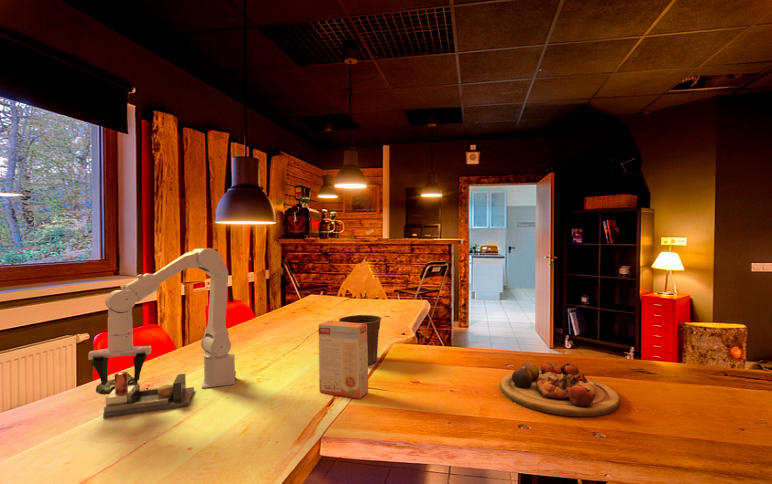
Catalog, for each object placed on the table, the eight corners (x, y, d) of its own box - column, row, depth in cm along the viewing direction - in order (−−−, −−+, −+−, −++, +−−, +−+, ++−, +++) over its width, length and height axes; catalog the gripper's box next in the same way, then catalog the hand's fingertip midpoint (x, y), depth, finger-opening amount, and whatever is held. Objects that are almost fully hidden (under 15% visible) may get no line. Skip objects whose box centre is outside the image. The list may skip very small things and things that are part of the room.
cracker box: (369, 392, 117) (368, 322, 117) (359, 400, 111) (358, 327, 111) (329, 385, 123) (328, 319, 123) (318, 392, 117) (317, 323, 117)
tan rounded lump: (175, 393, 115) (175, 383, 115) (172, 399, 111) (172, 388, 111) (159, 395, 113) (159, 385, 113) (156, 401, 110) (156, 390, 110)
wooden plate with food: (641, 424, 95) (641, 390, 95) (505, 413, 102) (505, 381, 102) (597, 380, 127) (597, 355, 127) (496, 374, 133) (496, 350, 133)
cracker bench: (193, 390, 120) (193, 370, 120) (188, 406, 109) (187, 384, 109) (118, 400, 113) (117, 379, 113) (103, 418, 102) (103, 394, 102)
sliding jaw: (139, 394, 114) (139, 367, 114) (131, 405, 106) (131, 376, 106) (115, 397, 112) (115, 370, 112) (106, 409, 104) (105, 379, 104)
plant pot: (333, 358, 152) (333, 316, 152) (371, 352, 159) (371, 313, 159) (347, 370, 137) (347, 324, 137) (389, 363, 144) (388, 320, 144)
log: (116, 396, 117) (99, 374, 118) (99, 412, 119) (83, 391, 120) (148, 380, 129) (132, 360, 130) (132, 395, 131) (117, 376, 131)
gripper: (83, 339, 102) (84, 390, 102) (146, 334, 107) (147, 383, 107) (93, 333, 109) (94, 381, 109) (152, 329, 114) (153, 375, 114)
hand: (121, 382), depth 109 cm, fingers open, 7 cm apart
